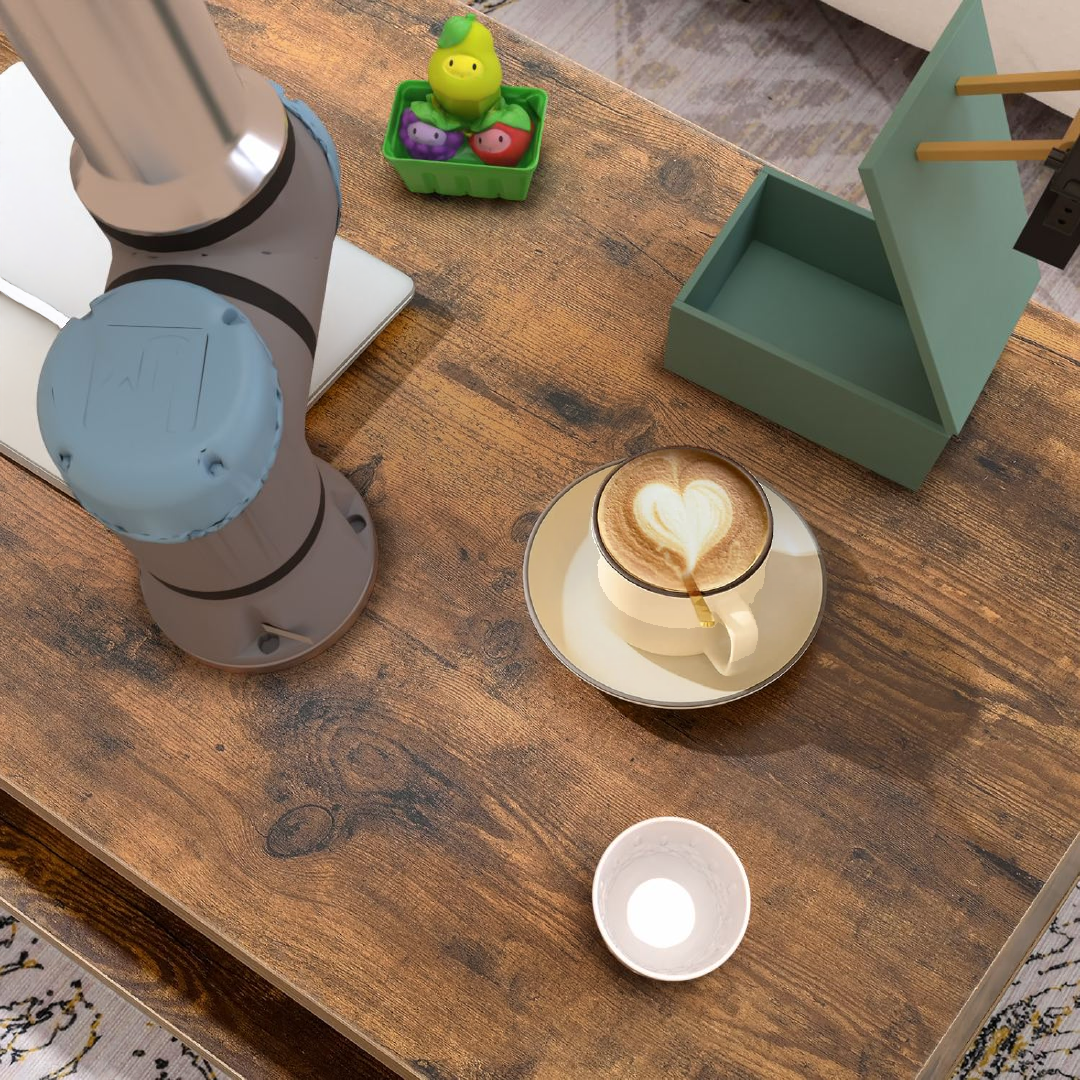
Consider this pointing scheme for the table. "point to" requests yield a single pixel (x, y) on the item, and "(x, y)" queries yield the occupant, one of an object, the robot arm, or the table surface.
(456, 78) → the fruit basket
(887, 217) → the lid
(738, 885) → the white cup
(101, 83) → the robot arm
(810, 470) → the table surface
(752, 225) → the chest
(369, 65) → the table surface
